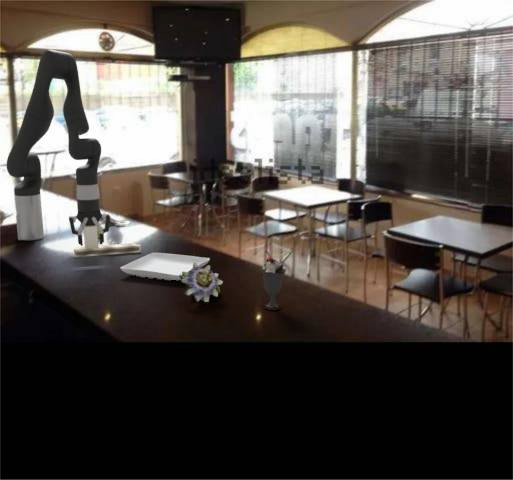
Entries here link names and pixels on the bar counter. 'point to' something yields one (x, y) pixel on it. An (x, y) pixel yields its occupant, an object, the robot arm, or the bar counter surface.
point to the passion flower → (201, 283)
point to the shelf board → (107, 250)
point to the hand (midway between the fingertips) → (91, 244)
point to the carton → (91, 237)
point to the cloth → (113, 222)
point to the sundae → (272, 278)
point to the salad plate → (163, 265)
